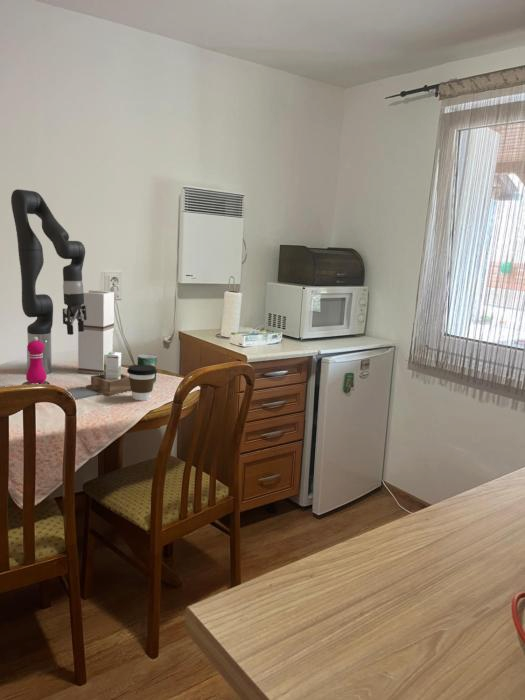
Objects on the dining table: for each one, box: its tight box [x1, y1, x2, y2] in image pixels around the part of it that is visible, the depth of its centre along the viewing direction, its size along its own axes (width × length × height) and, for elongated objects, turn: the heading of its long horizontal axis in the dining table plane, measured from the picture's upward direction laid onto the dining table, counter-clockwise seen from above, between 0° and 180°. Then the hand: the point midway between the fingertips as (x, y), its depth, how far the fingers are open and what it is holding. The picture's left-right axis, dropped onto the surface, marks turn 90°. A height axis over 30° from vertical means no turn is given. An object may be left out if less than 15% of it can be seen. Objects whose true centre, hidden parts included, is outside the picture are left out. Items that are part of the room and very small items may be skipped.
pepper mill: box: [25, 337, 47, 384], centre depth 204 cm, size 7×7×20 cm
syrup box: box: [103, 351, 122, 381], centre depth 209 cm, size 6×6×14 cm
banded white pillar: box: [77, 289, 115, 375], centre depth 232 cm, size 11×11×35 cm
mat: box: [67, 386, 101, 401], centre depth 201 cm, size 11×11×1 cm
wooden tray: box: [85, 373, 132, 397], centre depth 210 cm, size 14×14×5 cm
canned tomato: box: [137, 353, 158, 383], centre depth 224 cm, size 8×8×11 cm
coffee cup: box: [126, 364, 158, 401], centre depth 200 cm, size 11×11×12 cm
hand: (75, 333), depth 213 cm, fingers open, 8 cm apart
